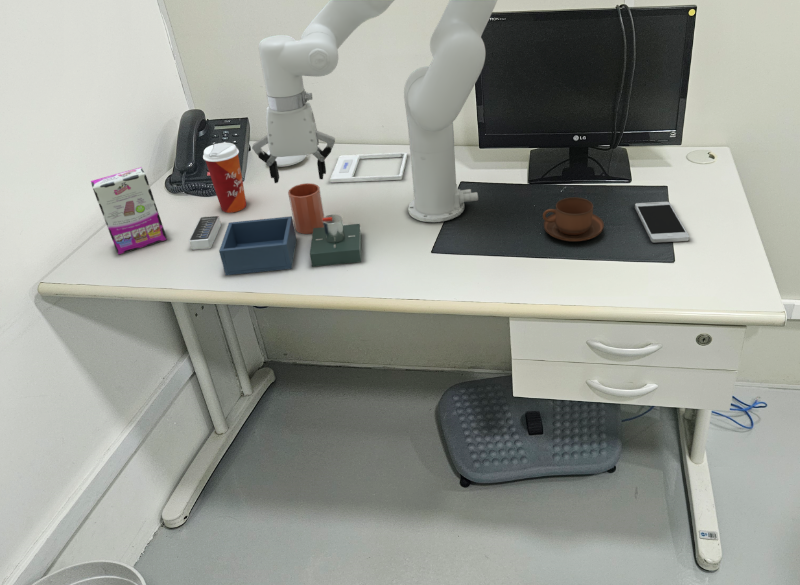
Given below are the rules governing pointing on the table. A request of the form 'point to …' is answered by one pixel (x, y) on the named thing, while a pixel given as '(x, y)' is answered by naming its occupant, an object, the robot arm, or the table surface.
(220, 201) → the coffee cup
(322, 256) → the green dial base
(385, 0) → the robot arm
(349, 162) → the photo frame
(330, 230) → the rotary dial knob
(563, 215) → the cup and saucer
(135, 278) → the table surface
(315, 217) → the cup
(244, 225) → the basin
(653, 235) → the smartphone
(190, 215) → the table surface
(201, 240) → the multiport hub
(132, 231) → the candy bar box
